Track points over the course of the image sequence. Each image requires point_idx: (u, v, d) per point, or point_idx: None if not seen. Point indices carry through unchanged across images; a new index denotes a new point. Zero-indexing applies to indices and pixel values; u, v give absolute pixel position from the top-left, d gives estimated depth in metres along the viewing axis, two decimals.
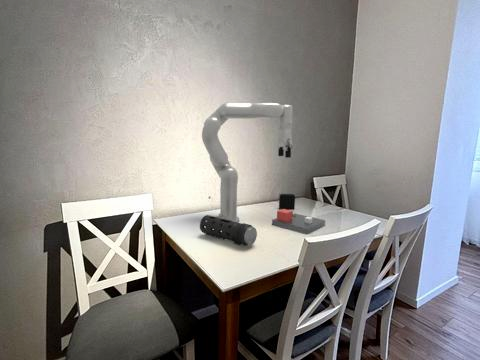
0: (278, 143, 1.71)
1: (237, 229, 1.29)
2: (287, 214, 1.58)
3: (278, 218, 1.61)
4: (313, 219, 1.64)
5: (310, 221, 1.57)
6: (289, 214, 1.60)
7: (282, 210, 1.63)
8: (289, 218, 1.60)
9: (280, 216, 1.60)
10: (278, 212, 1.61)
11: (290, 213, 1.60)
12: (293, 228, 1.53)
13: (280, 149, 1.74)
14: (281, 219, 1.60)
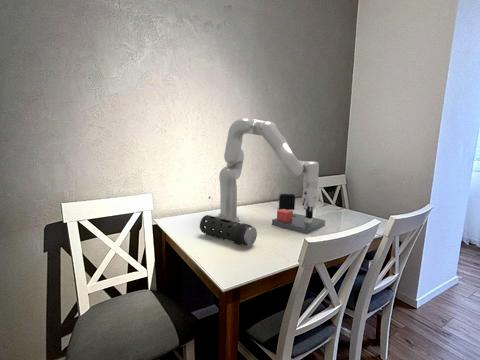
0: (311, 203, 1.53)
1: (237, 229, 1.29)
2: (287, 214, 1.58)
3: (278, 218, 1.61)
4: (313, 219, 1.64)
5: (310, 221, 1.57)
6: (289, 214, 1.60)
7: (282, 210, 1.63)
8: (289, 218, 1.60)
9: (280, 216, 1.60)
10: (278, 212, 1.61)
11: (290, 213, 1.60)
12: (293, 228, 1.53)
13: None
14: (281, 219, 1.60)
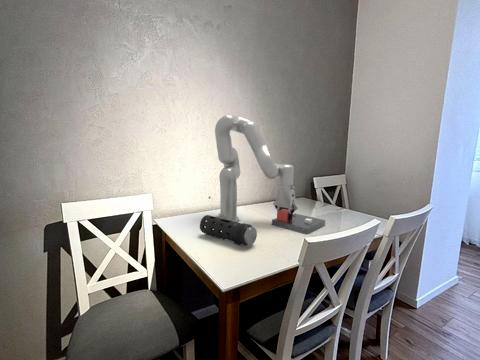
0: None
1: (237, 229, 1.29)
2: (287, 214, 1.58)
3: (278, 218, 1.61)
4: (313, 219, 1.64)
5: None
6: None
7: (282, 210, 1.63)
8: None
9: (280, 216, 1.60)
10: (278, 212, 1.61)
11: None
12: (293, 228, 1.53)
13: None
14: (281, 219, 1.60)
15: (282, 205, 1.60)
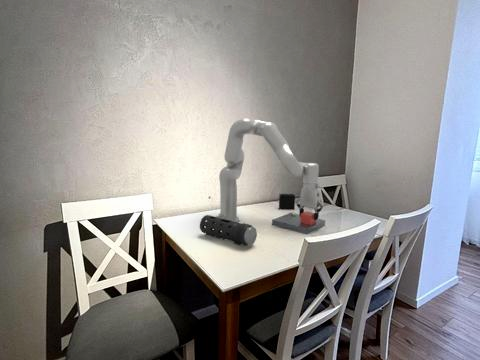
0: None
1: (237, 229, 1.29)
2: (311, 217, 1.54)
3: (302, 221, 1.57)
4: None
5: None
6: (313, 217, 1.56)
7: (306, 212, 1.58)
8: (313, 221, 1.56)
9: (304, 219, 1.56)
10: (302, 214, 1.57)
11: None
12: (293, 228, 1.53)
13: None
14: (305, 222, 1.56)
15: (306, 205, 1.55)
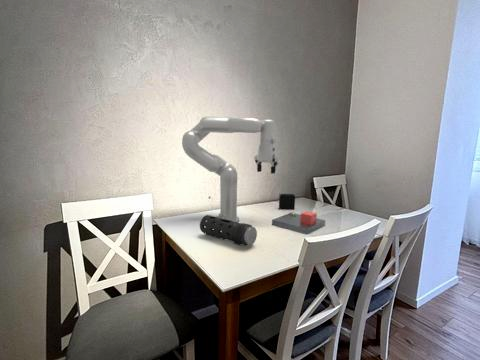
0: None
1: (237, 229, 1.29)
2: (311, 217, 1.54)
3: (302, 221, 1.57)
4: None
5: None
6: (313, 217, 1.56)
7: (306, 212, 1.58)
8: (313, 221, 1.56)
9: (304, 219, 1.56)
10: (302, 214, 1.57)
11: (314, 216, 1.56)
12: (293, 228, 1.53)
13: None
14: (305, 222, 1.56)
15: (263, 160, 1.64)
